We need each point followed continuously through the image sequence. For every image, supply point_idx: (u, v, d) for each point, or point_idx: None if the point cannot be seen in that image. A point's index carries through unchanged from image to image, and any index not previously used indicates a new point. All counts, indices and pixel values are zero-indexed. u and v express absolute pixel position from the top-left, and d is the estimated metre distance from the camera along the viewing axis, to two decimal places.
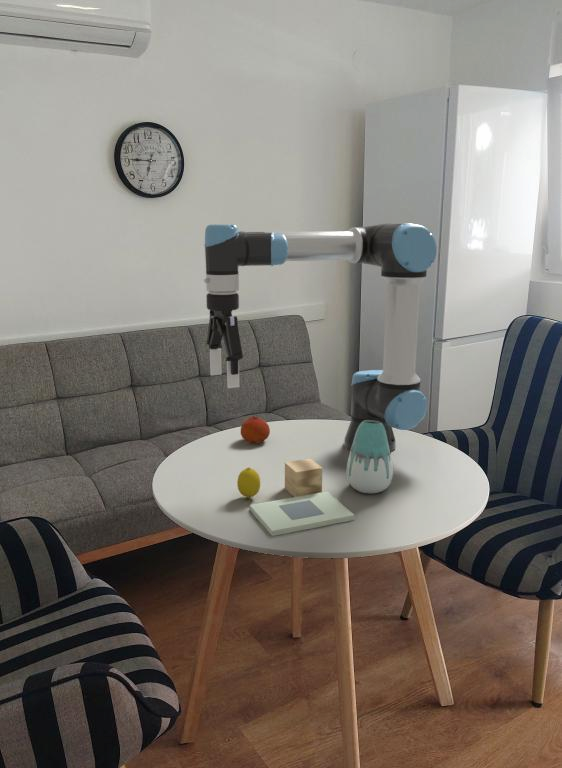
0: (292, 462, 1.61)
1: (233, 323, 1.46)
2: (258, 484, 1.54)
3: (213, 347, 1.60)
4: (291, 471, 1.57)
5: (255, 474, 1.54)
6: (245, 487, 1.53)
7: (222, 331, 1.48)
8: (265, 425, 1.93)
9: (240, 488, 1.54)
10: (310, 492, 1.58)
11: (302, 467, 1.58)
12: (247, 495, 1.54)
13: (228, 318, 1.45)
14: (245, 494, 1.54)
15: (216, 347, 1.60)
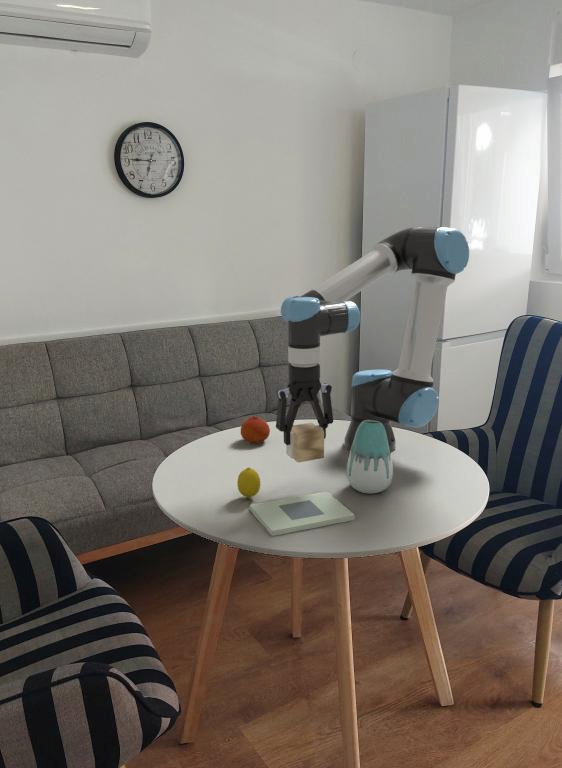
0: (293, 426, 1.59)
1: (280, 397, 1.52)
2: (258, 484, 1.54)
3: (319, 424, 1.59)
4: None
5: (255, 474, 1.54)
6: (245, 487, 1.53)
7: (291, 400, 1.55)
8: (265, 425, 1.93)
9: (240, 488, 1.54)
10: (312, 455, 1.56)
11: (303, 430, 1.56)
12: (247, 495, 1.54)
13: (277, 391, 1.53)
14: (245, 494, 1.54)
15: (320, 424, 1.58)
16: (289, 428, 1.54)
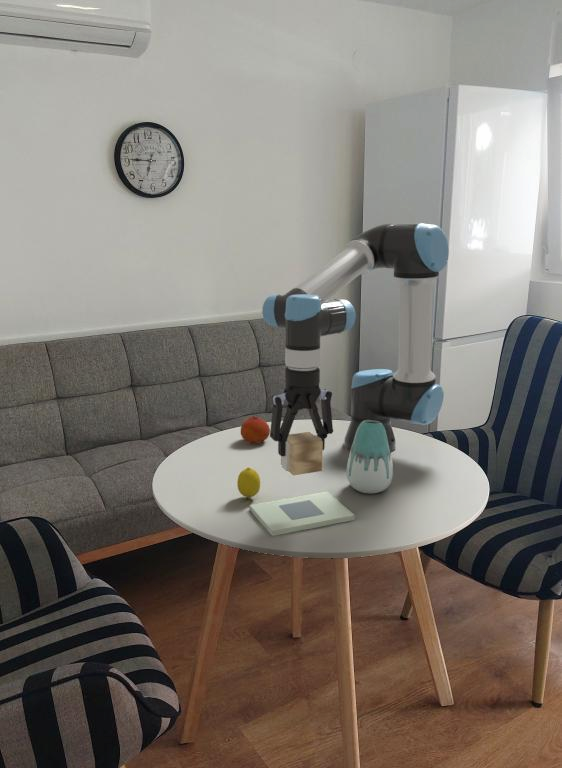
0: (289, 435, 1.45)
1: (275, 403, 1.39)
2: (258, 484, 1.54)
3: (317, 434, 1.45)
4: None
5: (255, 474, 1.54)
6: (245, 487, 1.53)
7: (287, 407, 1.42)
8: (265, 425, 1.93)
9: (240, 488, 1.54)
10: (309, 468, 1.42)
11: (300, 440, 1.42)
12: (247, 495, 1.54)
13: (272, 397, 1.39)
14: (245, 494, 1.54)
15: (319, 434, 1.45)
16: (284, 438, 1.40)
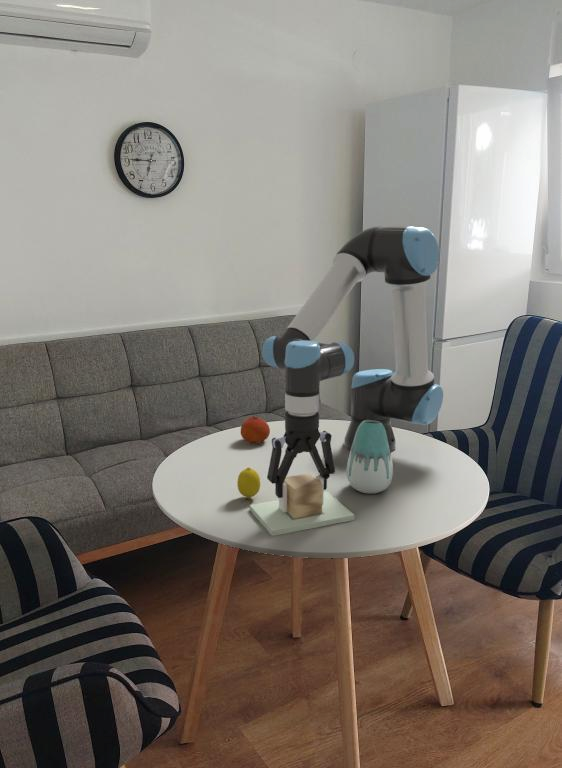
0: (289, 478, 1.48)
1: (274, 446, 1.41)
2: (258, 484, 1.54)
3: (320, 474, 1.48)
4: (289, 487, 1.44)
5: (255, 474, 1.54)
6: (245, 487, 1.53)
7: (286, 450, 1.44)
8: (265, 425, 1.93)
9: (240, 488, 1.54)
10: (309, 511, 1.45)
11: (300, 484, 1.44)
12: (247, 495, 1.54)
13: (272, 440, 1.42)
14: (245, 494, 1.54)
15: (321, 474, 1.47)
16: (282, 480, 1.43)
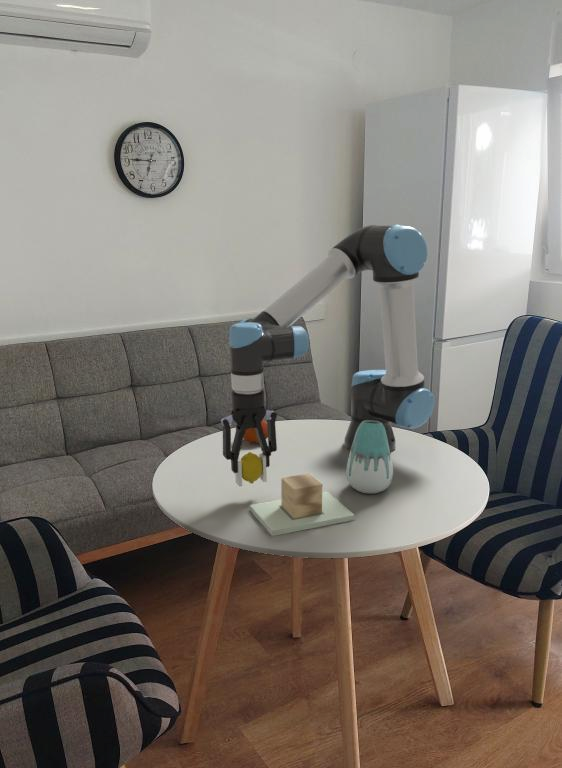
0: (289, 478, 1.48)
1: (223, 425, 1.49)
2: (260, 468, 1.54)
3: (263, 452, 1.56)
4: (289, 487, 1.44)
5: (256, 458, 1.53)
6: (247, 472, 1.52)
7: (236, 427, 1.53)
8: (265, 425, 1.93)
9: (242, 473, 1.53)
10: (309, 511, 1.45)
11: (300, 484, 1.44)
12: (249, 480, 1.54)
13: (220, 419, 1.50)
14: (247, 479, 1.53)
15: (263, 452, 1.55)
16: (236, 456, 1.51)
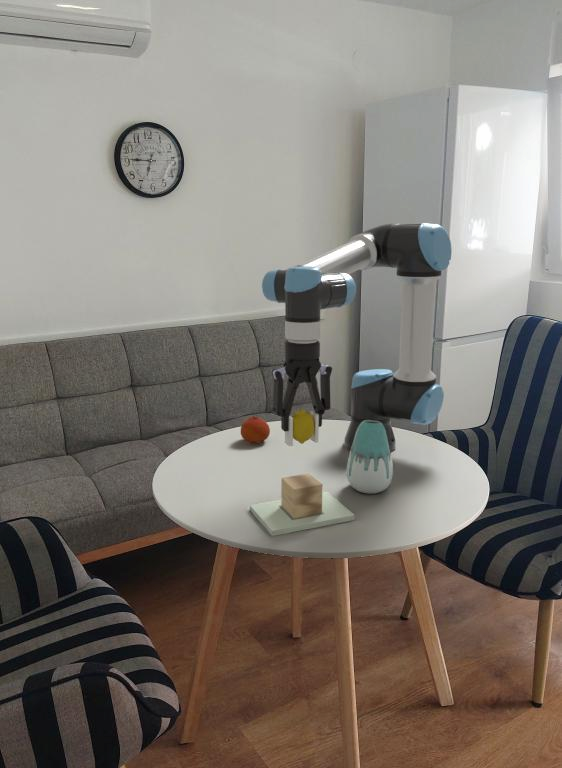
0: (289, 478, 1.48)
1: (275, 378, 1.37)
2: (312, 427, 1.42)
3: (315, 410, 1.44)
4: (289, 487, 1.44)
5: (309, 416, 1.41)
6: (298, 430, 1.40)
7: (288, 382, 1.41)
8: (265, 425, 1.93)
9: (293, 431, 1.41)
10: (309, 511, 1.45)
11: (300, 484, 1.44)
12: (300, 439, 1.41)
13: (272, 372, 1.38)
14: (298, 438, 1.41)
15: (316, 410, 1.43)
16: (287, 412, 1.39)
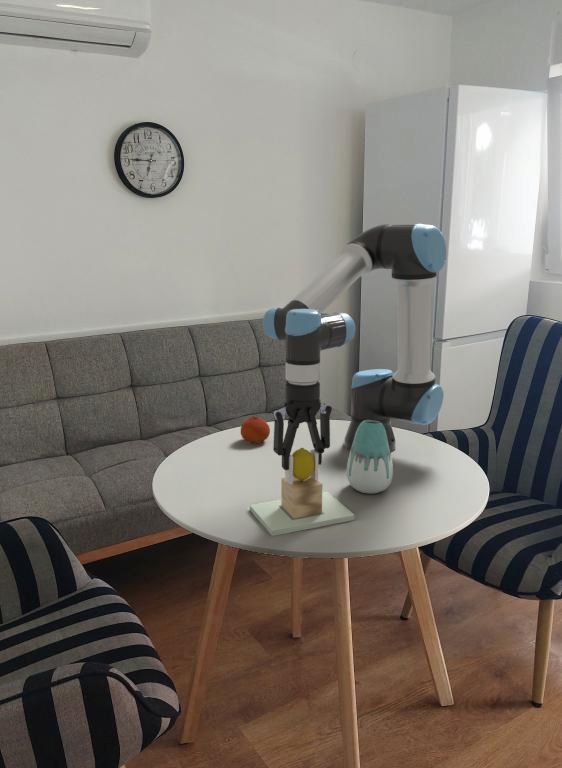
0: None
1: (276, 418, 1.40)
2: (312, 465, 1.44)
3: (315, 448, 1.46)
4: (289, 487, 1.44)
5: (309, 455, 1.43)
6: (299, 468, 1.42)
7: (288, 421, 1.43)
8: (265, 425, 1.93)
9: (293, 470, 1.43)
10: (309, 511, 1.45)
11: (300, 484, 1.44)
12: (300, 477, 1.44)
13: (272, 412, 1.40)
14: (298, 476, 1.43)
15: (316, 449, 1.45)
16: (288, 452, 1.42)
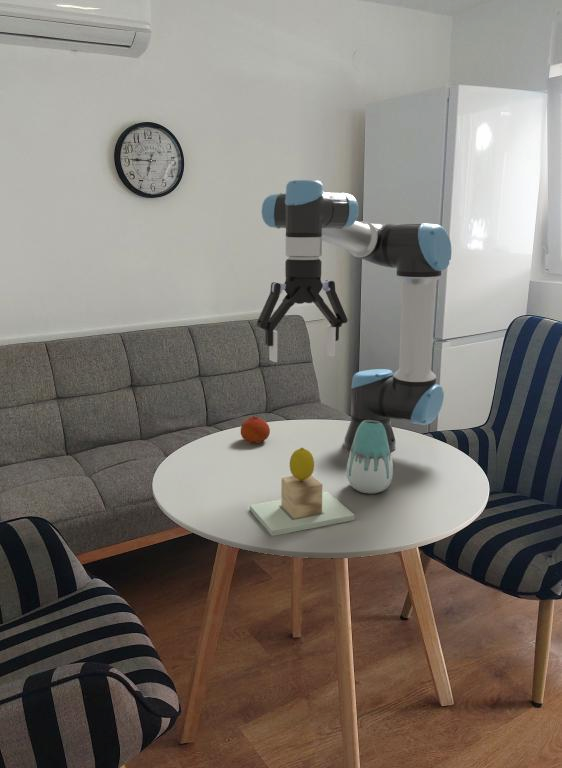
0: (289, 478, 1.48)
1: (273, 290, 1.32)
2: (312, 465, 1.44)
3: (331, 324, 1.40)
4: (289, 487, 1.44)
5: (309, 455, 1.43)
6: (299, 468, 1.42)
7: (283, 299, 1.36)
8: (265, 425, 1.93)
9: (293, 470, 1.43)
10: (309, 511, 1.45)
11: (300, 484, 1.44)
12: (300, 477, 1.44)
13: (272, 283, 1.33)
14: (298, 476, 1.43)
15: (333, 324, 1.40)
16: (272, 326, 1.33)
